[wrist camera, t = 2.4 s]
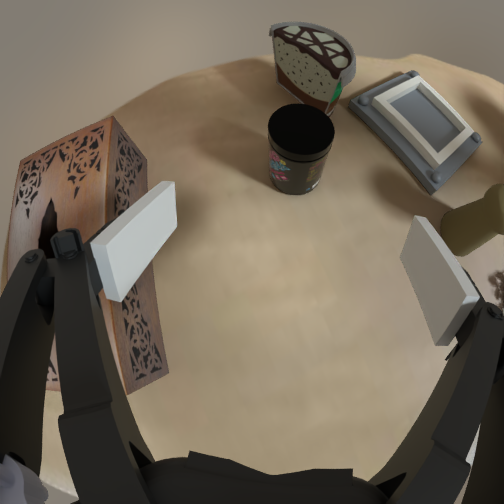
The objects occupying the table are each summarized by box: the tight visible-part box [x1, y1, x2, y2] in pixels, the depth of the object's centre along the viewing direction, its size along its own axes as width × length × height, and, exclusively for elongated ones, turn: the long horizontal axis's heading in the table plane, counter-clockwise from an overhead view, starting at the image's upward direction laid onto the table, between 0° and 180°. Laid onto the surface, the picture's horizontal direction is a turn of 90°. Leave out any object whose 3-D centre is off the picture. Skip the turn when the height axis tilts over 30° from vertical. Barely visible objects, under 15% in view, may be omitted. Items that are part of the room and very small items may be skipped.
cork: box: [441, 184, 504, 257], centre depth 23 cm, size 6×6×11 cm
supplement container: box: [268, 104, 335, 195], centre depth 27 cm, size 6×6×9 cm
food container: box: [269, 22, 356, 117], centre depth 29 cm, size 12×6×10 cm, turn 36°
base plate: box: [348, 71, 482, 195], centre depth 30 cm, size 16×16×3 cm
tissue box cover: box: [7, 116, 169, 395], centre depth 26 cm, size 26×14×10 cm, turn 10°
